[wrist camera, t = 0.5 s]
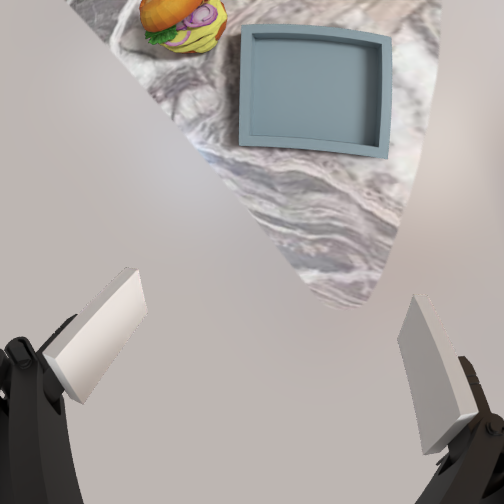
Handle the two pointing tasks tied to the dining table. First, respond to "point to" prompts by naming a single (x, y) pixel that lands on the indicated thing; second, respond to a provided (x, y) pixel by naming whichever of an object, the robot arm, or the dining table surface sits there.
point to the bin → (315, 89)
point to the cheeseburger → (183, 23)
